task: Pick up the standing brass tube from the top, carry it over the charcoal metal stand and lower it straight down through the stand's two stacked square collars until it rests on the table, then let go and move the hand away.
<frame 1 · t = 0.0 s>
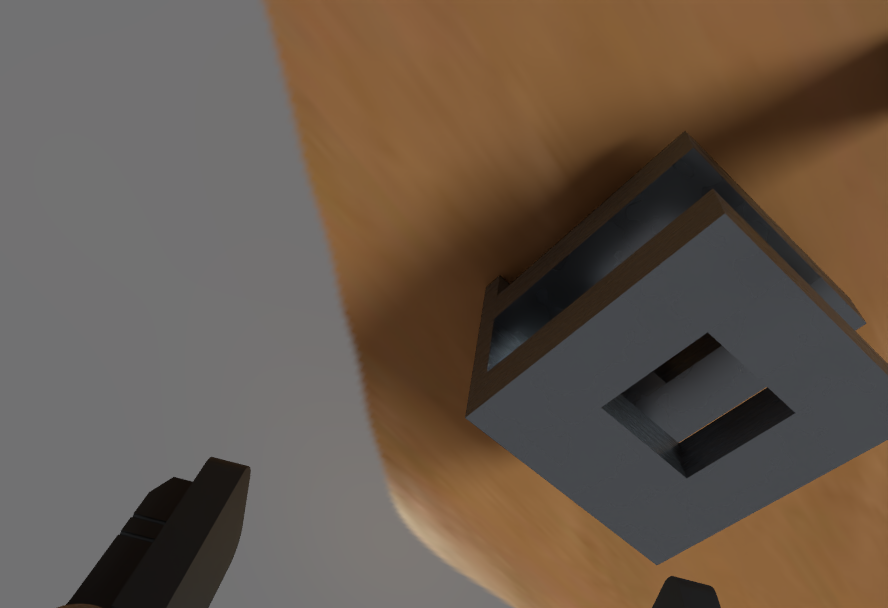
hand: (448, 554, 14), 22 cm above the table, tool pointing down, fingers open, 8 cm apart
collar stand: (661, 275, 35), on the table
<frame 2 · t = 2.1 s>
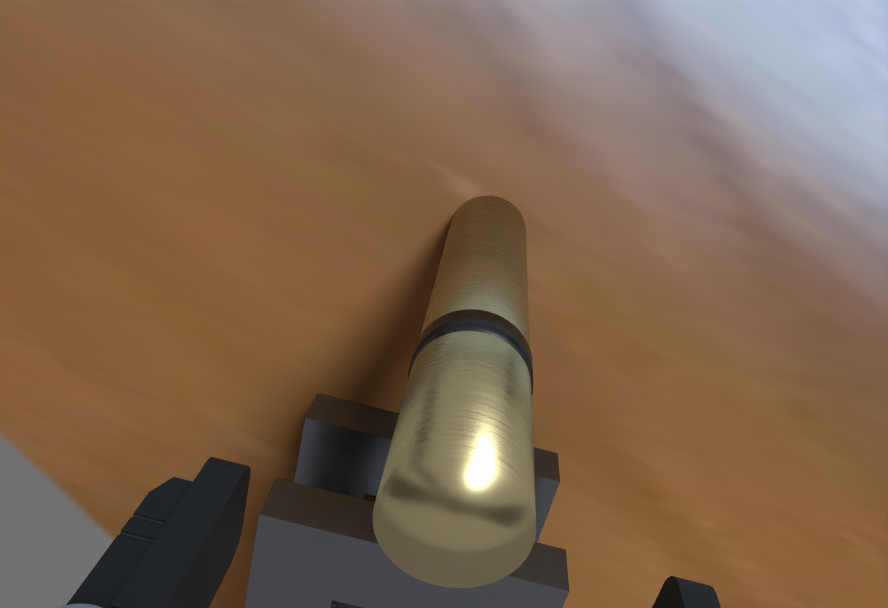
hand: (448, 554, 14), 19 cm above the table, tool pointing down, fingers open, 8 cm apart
collar stand: (417, 490, 36), on the table
brass tube: (487, 232, 30), on the table
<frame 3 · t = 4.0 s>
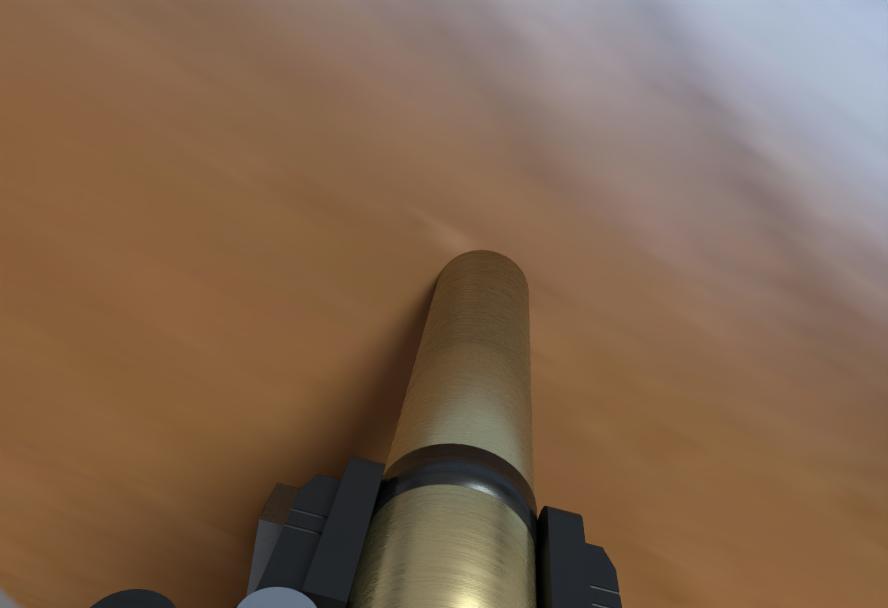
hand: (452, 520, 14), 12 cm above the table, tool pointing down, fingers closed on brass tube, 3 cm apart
collar stand: (399, 586, 31), on the table
brass tube: (482, 293, 25), on the table, touching gripper
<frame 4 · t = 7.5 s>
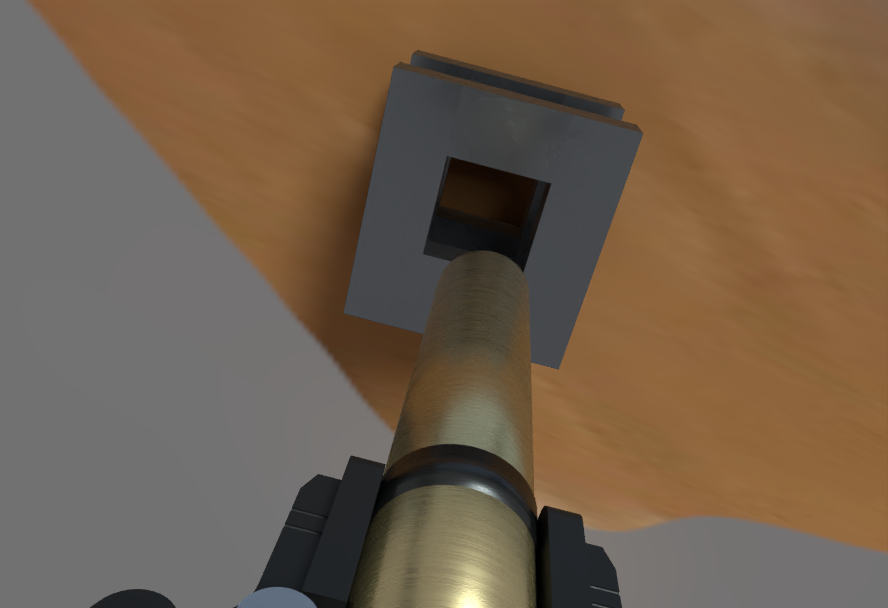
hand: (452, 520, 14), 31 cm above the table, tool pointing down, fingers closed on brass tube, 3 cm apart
collar stand: (492, 167, 42), on the table
brass tube: (482, 294, 25), point 19 cm above the table, touching gripper
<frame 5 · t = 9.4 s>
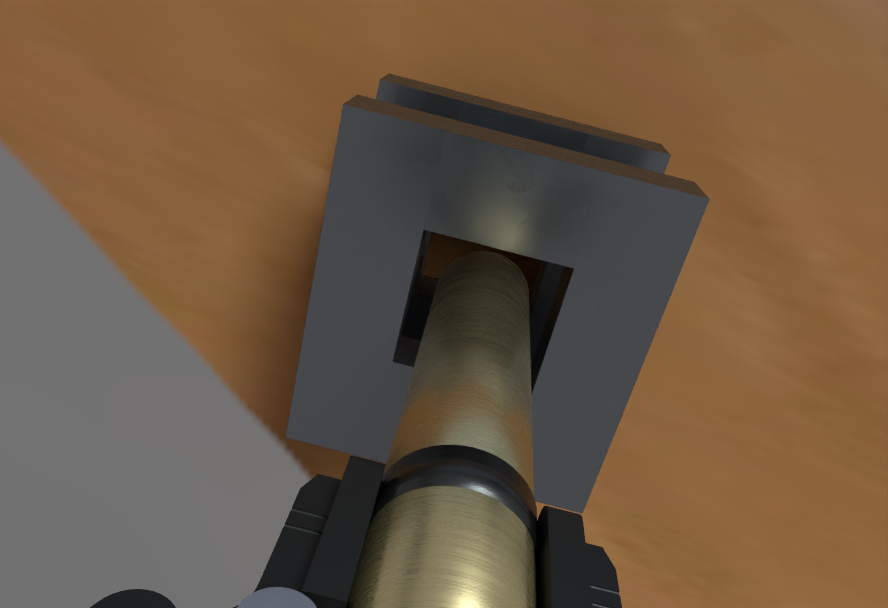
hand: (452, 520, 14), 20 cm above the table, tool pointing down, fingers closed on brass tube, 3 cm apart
collar stand: (491, 223, 32), on the table
brass tube: (482, 294, 25), point 8 cm above the table, touching gripper
when the fingers open (13 cm above the table, at t = 11.1 s): brass tube drops 1 cm, on the table.
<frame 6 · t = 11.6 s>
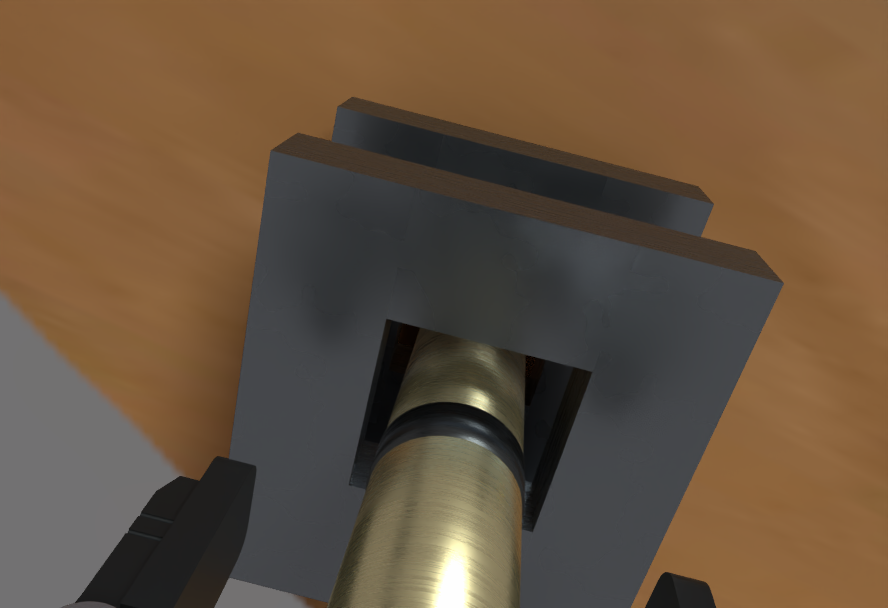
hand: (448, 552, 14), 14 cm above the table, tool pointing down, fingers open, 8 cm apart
collar stand: (483, 277, 26), on the table
brass tube: (483, 277, 26), on the table
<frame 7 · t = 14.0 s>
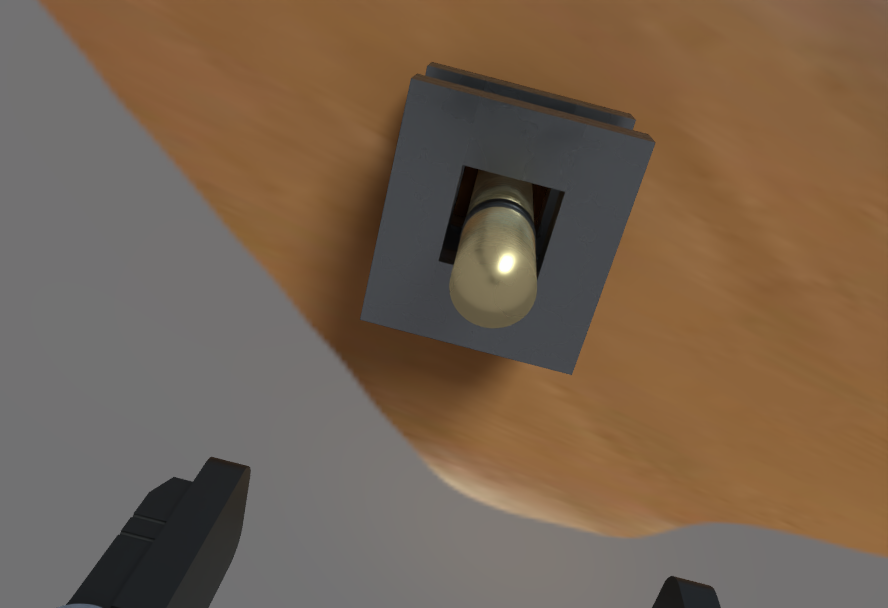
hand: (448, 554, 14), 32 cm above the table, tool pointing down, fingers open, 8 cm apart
collar stand: (504, 177, 43), on the table
brass tube: (504, 176, 43), on the table
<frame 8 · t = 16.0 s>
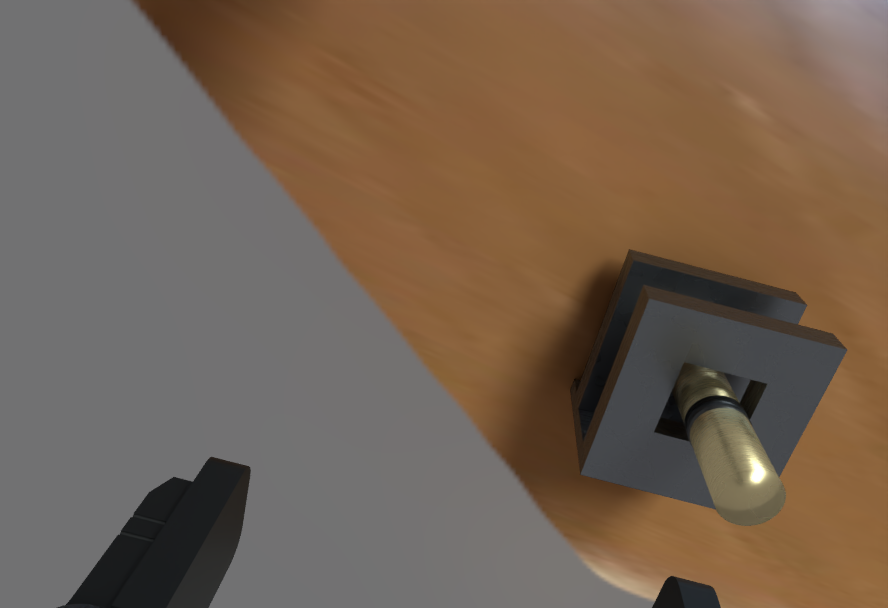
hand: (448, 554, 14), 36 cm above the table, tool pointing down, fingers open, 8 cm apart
collar stand: (675, 332, 50), on the table
brass tube: (675, 331, 50), on the table
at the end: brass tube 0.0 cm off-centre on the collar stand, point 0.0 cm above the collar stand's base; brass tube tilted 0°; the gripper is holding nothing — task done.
